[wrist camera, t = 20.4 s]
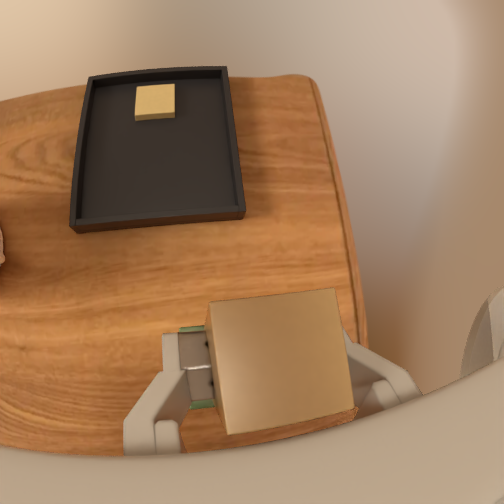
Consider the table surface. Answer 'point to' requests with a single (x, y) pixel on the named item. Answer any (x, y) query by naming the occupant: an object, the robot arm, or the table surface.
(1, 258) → the mug
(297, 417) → the scrub brush
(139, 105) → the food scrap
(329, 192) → the table surface
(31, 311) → the table surface
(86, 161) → the black tray
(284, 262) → the table surface
